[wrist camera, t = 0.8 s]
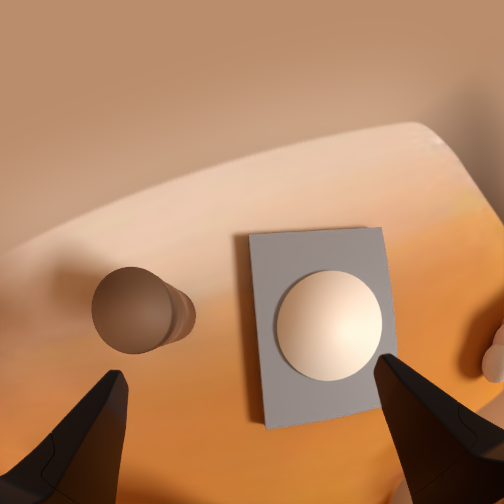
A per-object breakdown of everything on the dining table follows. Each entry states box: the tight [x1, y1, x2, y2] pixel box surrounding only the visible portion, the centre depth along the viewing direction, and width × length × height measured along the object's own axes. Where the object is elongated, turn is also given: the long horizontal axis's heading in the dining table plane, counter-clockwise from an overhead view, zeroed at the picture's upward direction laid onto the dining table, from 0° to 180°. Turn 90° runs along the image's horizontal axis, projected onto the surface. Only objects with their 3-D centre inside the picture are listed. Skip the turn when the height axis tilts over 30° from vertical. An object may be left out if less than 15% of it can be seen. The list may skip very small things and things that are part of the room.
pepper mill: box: [92, 267, 196, 354], centre depth 19 cm, size 4×4×10 cm
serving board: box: [248, 227, 398, 429], centre depth 23 cm, size 16×12×2 cm
